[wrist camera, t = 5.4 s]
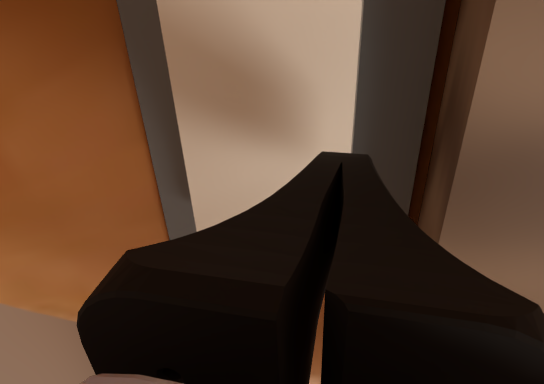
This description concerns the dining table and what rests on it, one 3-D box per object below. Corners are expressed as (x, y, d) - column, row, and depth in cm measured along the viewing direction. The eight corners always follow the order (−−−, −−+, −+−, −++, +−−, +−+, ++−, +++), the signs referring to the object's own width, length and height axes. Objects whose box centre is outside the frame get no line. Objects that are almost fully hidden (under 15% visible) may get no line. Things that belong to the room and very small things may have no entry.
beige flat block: (197, 235, 17) (214, 209, 18) (343, 253, 15) (347, 222, 17) (155, -4, 12) (183, -12, 13) (362, -7, 11) (365, -15, 12)
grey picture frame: (394, 283, 19) (394, 289, 18) (177, 254, 21) (174, 260, 21) (473, -172, 10) (476, -176, 10) (93, -136, 12) (85, -138, 12)
